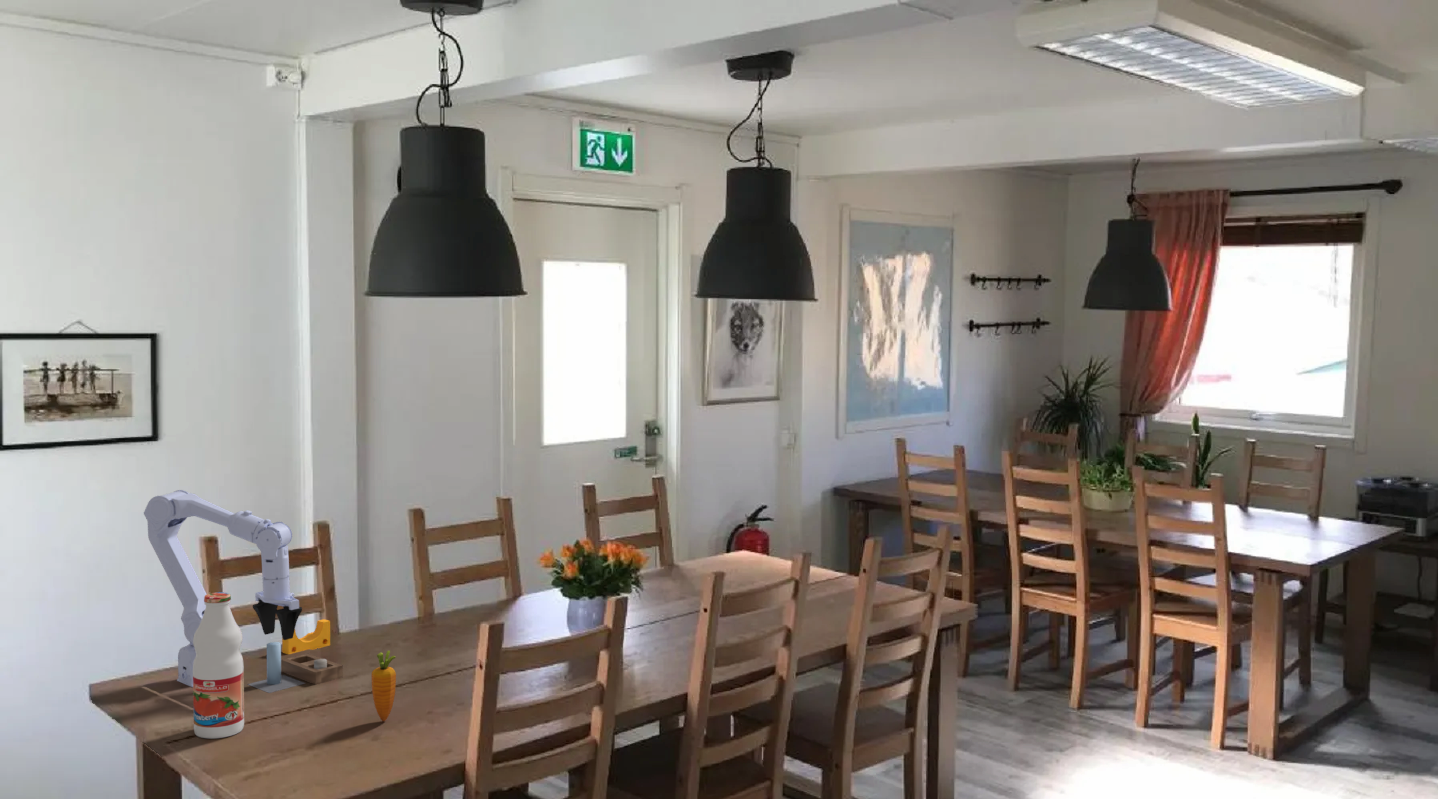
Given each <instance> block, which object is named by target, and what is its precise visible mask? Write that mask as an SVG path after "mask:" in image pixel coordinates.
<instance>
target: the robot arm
mask: <svg viewBox="0 0 1438 799" xmlns="http://www.w3.org/2000/svg"><path fill="white" fill-rule="evenodd" d="M143 515H144V517H145V519H146V521H147V536H148V540H149V542H150V544H151V547H152V548H153V551H154V552H155V554H156V556H157V558H158V560H159V562H160V564H161V566H162V568H163V570H164V572H165V573H166V576H167V577H168V579H169V582H170V584H171V585H172V588H173V589H174V591H175V593H176V595H177V598H178V599H179V600H180V604H181V605H182V606H183V610H182V614H181V616H180V620H181V623H182V624H183V625H182V626H183V632H184V636H185V638H186V640H187V641H188V642H189V644H188V645H186V646H182V647H181V648H179V650H178V653H177V670H178V671H177V672H178V673H177V675H178V678H177V679H176V681H177V682H179V683H182V684H184V685H186V686H188V687H190V688H193V663H194V659H195V657H196V651H195V648H194V644H193V638H194V634H195V632H196V630H197V629H198V627H199V625H200V623H201V620H202V618H203V615H204V612H205V609H206V605H205V604H204V603H205V602H204V597H205V595H207V594H208V593H207V592H206V590H205V588H204V586H203V584H202V582H201V581H200V578H199V577H198V574H197V573H196V571H195V569H194V567H193V565H192V563H191V562H190V558H189V557H188V555H187V553H186V551H185V549H184V547H183V546H182V543H181V542H180V539H179V538H178V534H179V531H180V528H181V527H182V524H183V523H184V522H185V521H186V520H187V518H190V517H196V518H199V519H202V520H205V521H209V522H210V523H211V522H212V523H214V524H217V525H220V526H223V527H226V528H227V530H228V533H229V534H230V535H232V536H234V537H236V538H240V539H242V540H245V541H247V542H250V543H252V544H254V545H256V547H257V548H258V550H259V551H260V555H261V556H260V557H261V572H262V576H261V577H262V579H261V580H262V591H257V592H255V593H254V594H255V597H254V598H255V602H257V603H254V604H253V605H252V609H253V610H254V612H256V615H257V618H259V619H258V620H259V621H260V625H261V629H262V631H263V634H264V635H270V634H274V633H275V629H276V616H277V618H278V621H279V626H280V630H281V631H280V632H281V639H282V638H283V640H287V639H291V638H293V635H294V630H295V631H296V626H297V623H298V622H297V621H298V620H299V617H300V615H301V613H302V611H303V607H302V606H300V599H297V598H296V597H295V593H294V592H291V585H290V584H291V582H290V563H289V562H290V560H289V559H290V558H289V544H290V543H291V541H292V539H293V532H292V531H293V530H292V529H291V528H290V526H289V525H287V524H286V523H285V522H283V521H276V522H272V520H271V519H269V518H266V519H264V518H261V517H260V516H257V515H254V514H253V511H252V510H249V509H247V510H244V511H243V510H239V511H237V512H233V511H230V510H228V509H226V508H224V507H221V506H220V505H217V504H214V503H213V502H210V501H208V500H206V499H204V498H202V497H200V496H199V495H198V494H196V493H192V492H188V491H186V490H184V489H177V490H175V491H173V492H170V493H165V494H162V495H155V496H153V497H152V498H150V500H149V501H148V502H147V505H146V507H145V509H144V510H143ZM278 606H280V607H282V608H280V609H278Z"/></svg>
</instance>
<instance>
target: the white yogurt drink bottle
mask: <svg viewBox="0 0 1438 799" xmlns="http://www.w3.org/2000/svg"><path fill="white" fill-rule="evenodd" d="M206 594H207V595H205V597H204V602H205V603H204V604H205V605H206V609H205V612H204V615H203V618H202V620H201V623H200V625H199V627H198V629H197V630H196V632H195V634H194V638H193V644H194V648H195V651H196V657H195V659H194V663H193V687H192V691H193V692H192V696H193V697H192V700H193V701H192V702H193V732H194V734H195V736H196V737H198V738H200V739H201V738H202V739H212V740H213V739H222V738H227V737H231V736H234V735H237V734H239V733H240V732H242V731H243V730H244V727H245V688H244V687H245V684H244V682H245V680H244V679H245V678H244V677H245V676H244V675H245V673H244V671H245V667H244V659H243V655H242V653H241V647H242V643H243V631H242V629H241V628H240V626H239V625H238V623H237V622H236V620H235V617H234V615H233V613H232V610H231V606H230V604H231V600H232V597H231V594H230V593H229V592H225V591H224V592H220V591H218V592H211V593H206Z"/></svg>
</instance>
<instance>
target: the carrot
mask: <svg viewBox="0 0 1438 799" xmlns="http://www.w3.org/2000/svg"><path fill="white" fill-rule="evenodd" d="M390 653H391V650H386V653H385V658H384V653H383V651H382V652H379V653H378V654H377V655H376V657H377V659H378V664H379V666H378V667H376V668H375V669H373V670H372V671H371V692H372V694H371V695H372V699H373V703H374V707H375V710H376V713H377V715H378V716H379V719H380V720H381V721H382V722H383V723H384V722H385V721H387V720H388V718H389V716H390V714H391V711H392V709H393V705H394V701H395V696H396V688H397V687H396V686H397V685H396V684H397V682H396V681H397V672H396V670H395V669H394V668H393V667H391V666H389V665H390V663H391V662H392V661H393V660H394V659H396V658H397V657H396V656H395V655H392V656H390V655H391V654H390Z"/></svg>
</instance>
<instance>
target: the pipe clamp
mask: <svg viewBox="0 0 1438 799" xmlns="http://www.w3.org/2000/svg"><path fill="white" fill-rule="evenodd" d="M328 646H331V620H328V619H325V618H323V619H318V620H317V621H316V627H315V629H314V631H312V632H307V634H305V635H304V636H302V637H298V636H297V633H296V629H295V630H294V635H293V638H291V639H287V640H283V638H282V637H281V654H286V655H292V654H296V653H300V652H304V651H308V650H310V651H311V650H312V651H313V650H317V648H318V649H321V648H324V647H325V648H326V647H328Z"/></svg>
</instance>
